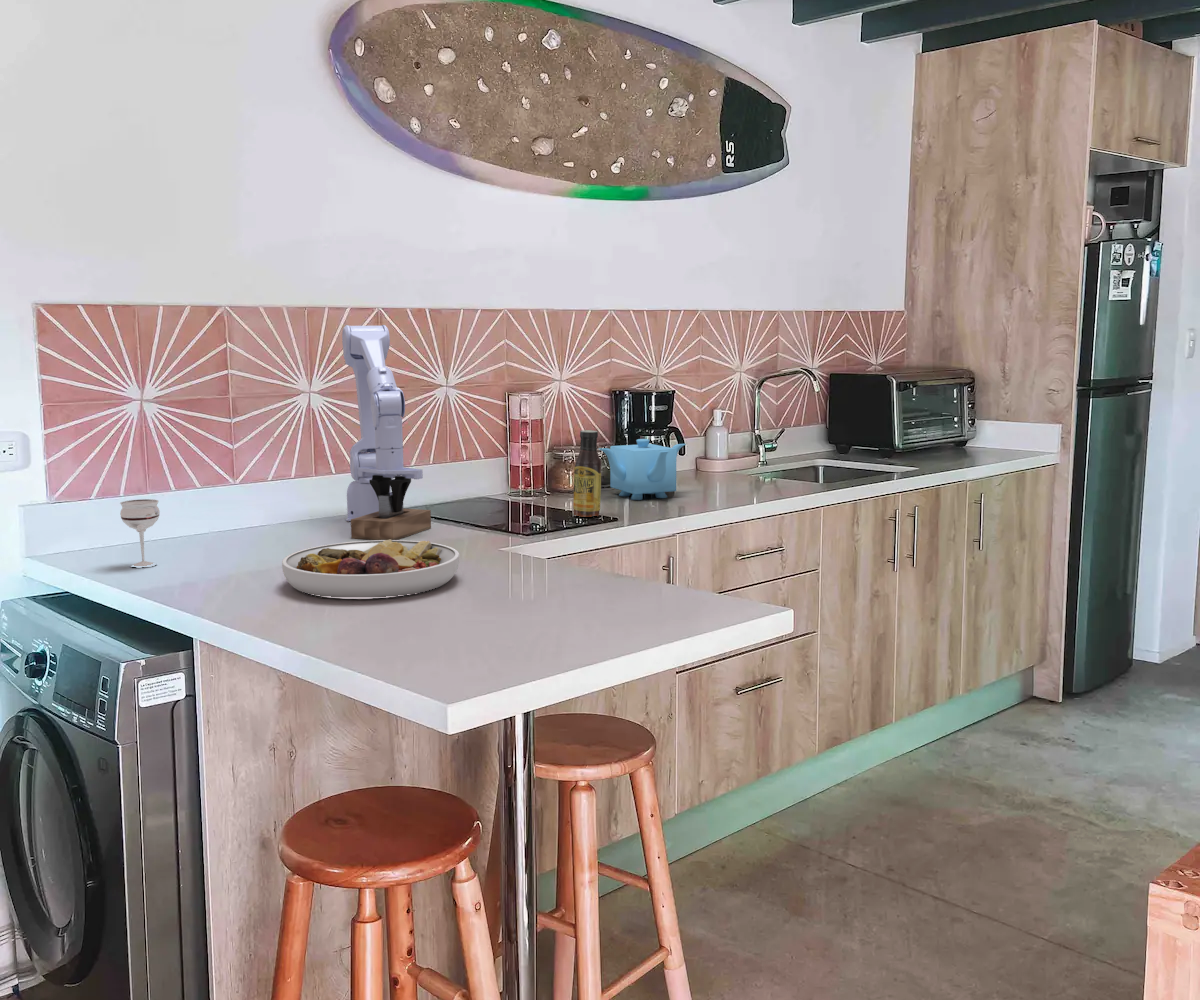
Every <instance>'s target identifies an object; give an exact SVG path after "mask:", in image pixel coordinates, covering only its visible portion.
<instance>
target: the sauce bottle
mask: <svg viewBox="0 0 1200 1000" xmlns="http://www.w3.org/2000/svg"><path fill="white" fill-rule="evenodd" d="M598 435H599V432H598V431H597V430H591V429H588V430H586V429H585V430H580V432H579V437H580V446H579V447H580V448H579V449H580V450H579V453H578V455H577V458H576V460H575V464H574V467H573V468H574V469H573V470H574V472H573V473H574V474H573V501H572V502H573V503H572V504H573V505H572V506H573V507H572V508H573V515H576V516H580V517H592V516H597V517H599V516H600V511H601V497H602V496H601V495H602V493H601V492H602V491H601V489H602V459H601V457H600V455H599V454H598V447H597V445H598V437H599V436H598ZM576 516H575V517H576ZM580 517H579V518H580Z"/></svg>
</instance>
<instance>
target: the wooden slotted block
mask: <svg viewBox="0 0 1200 1000" xmlns="http://www.w3.org/2000/svg"><path fill="white" fill-rule="evenodd" d="M403 511H404V514H401V515H398V516H395V517H391V518H388V519H379V511H378V512H374V513H371V514H368V515H364V516H361V517H358V518H354V519H351V521H350V535H351V536H350V538H351V539H354V540H366V541H372V540H389V539H391V540H403V539H404V538H407V537H410V536H412V535H416V534H418V533H421V532H424V531H427V530H429V529H432V513H431V511H432V510H431V509H419V508H418V509H417V508H403Z"/></svg>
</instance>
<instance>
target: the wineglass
mask: <svg viewBox="0 0 1200 1000" xmlns="http://www.w3.org/2000/svg"><path fill="white" fill-rule="evenodd" d="M158 503H159V500H158V499H151V498H150V499H149V498H148V499H146V498H141V499H131V500H124V501H121V502H120V503H119V504H120V505H121V507H122V508H121V510H120V519H121V520H122V522H123V523H124V524H125V525H126V526H127V527H129V528H130V529H133V530H135V531H136V532H137V533H138V535H139V542H140V543H139V545H140V551H141V561H138V562H136V563H134V564H132V565H134V566H147V565H151V564H153V563H154V562H151V561H146V560H145V532H146V531H147V530H148V529H149V528H150V527H151V528H152V527H153V526H154V525H155V524H156V523H157V522H158V520H159V518H160V512H161V511H160V508H159V506H158Z"/></svg>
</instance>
